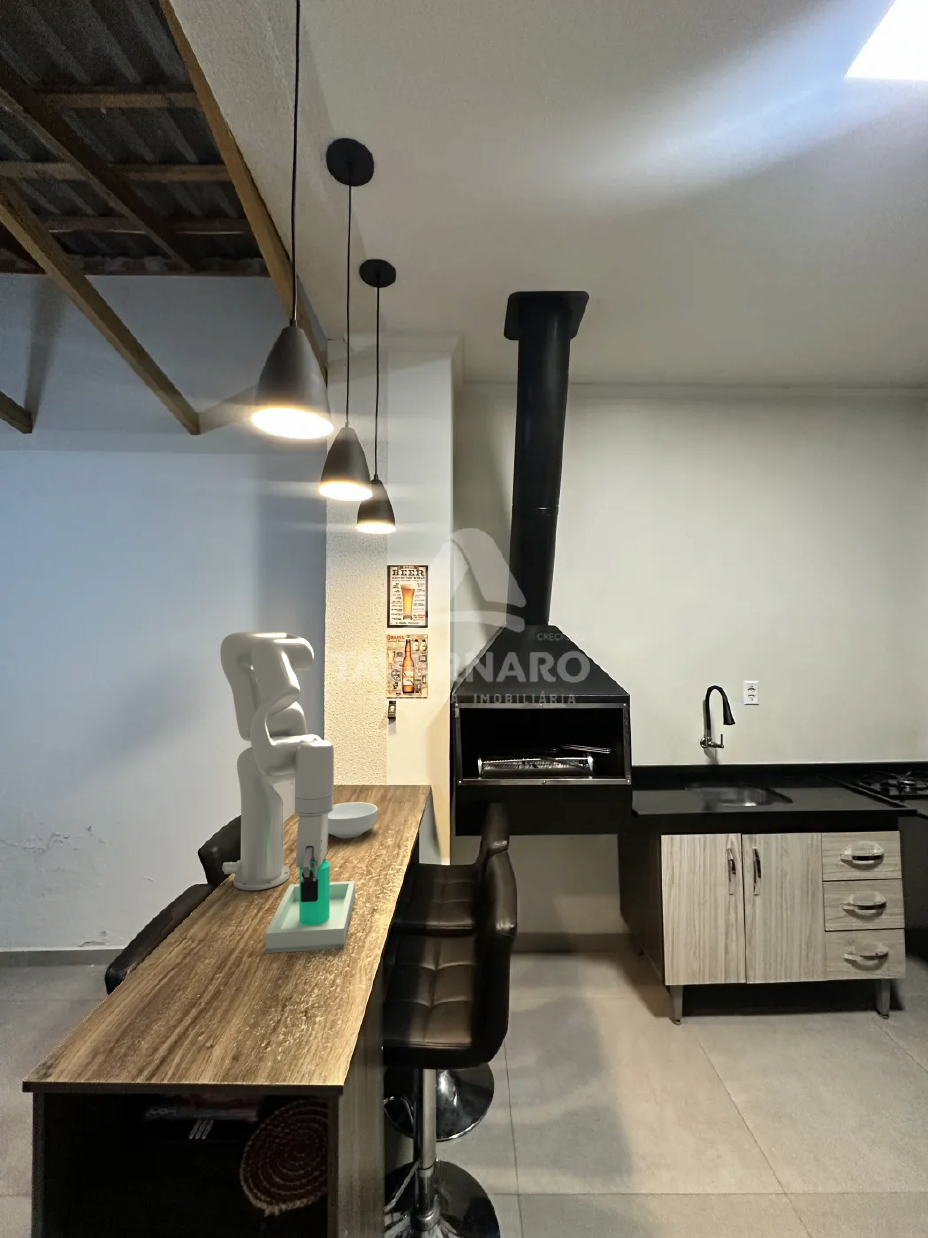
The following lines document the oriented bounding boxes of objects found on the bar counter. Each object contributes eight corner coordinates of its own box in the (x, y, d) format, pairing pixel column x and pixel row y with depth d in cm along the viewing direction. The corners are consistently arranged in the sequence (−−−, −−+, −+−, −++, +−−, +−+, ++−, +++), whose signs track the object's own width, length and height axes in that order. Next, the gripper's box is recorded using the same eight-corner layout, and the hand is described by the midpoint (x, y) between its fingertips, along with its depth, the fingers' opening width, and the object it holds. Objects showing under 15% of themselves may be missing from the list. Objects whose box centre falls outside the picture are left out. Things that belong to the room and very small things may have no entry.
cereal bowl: (373, 821, 169) (372, 799, 169) (382, 840, 153) (382, 814, 153) (317, 828, 164) (317, 804, 164) (320, 847, 148) (320, 821, 148)
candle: (305, 910, 111) (305, 851, 112) (333, 910, 111) (333, 851, 111) (294, 925, 105) (294, 862, 106) (324, 925, 105) (324, 863, 105)
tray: (265, 953, 97) (265, 933, 97) (289, 901, 117) (289, 884, 117) (343, 948, 98) (343, 928, 98) (355, 897, 118) (355, 881, 118)
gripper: (303, 792, 117) (303, 872, 116) (285, 818, 100) (284, 912, 99) (338, 790, 118) (338, 870, 117) (326, 816, 101) (326, 910, 100)
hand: (313, 889), depth 108 cm, fingers open, 9 cm apart
